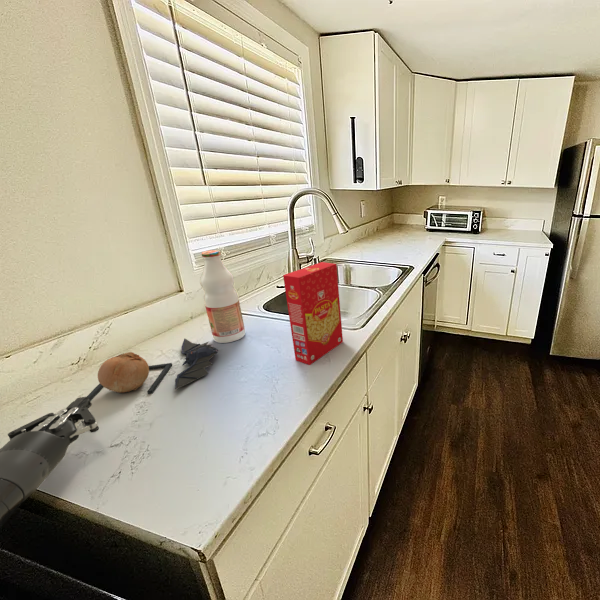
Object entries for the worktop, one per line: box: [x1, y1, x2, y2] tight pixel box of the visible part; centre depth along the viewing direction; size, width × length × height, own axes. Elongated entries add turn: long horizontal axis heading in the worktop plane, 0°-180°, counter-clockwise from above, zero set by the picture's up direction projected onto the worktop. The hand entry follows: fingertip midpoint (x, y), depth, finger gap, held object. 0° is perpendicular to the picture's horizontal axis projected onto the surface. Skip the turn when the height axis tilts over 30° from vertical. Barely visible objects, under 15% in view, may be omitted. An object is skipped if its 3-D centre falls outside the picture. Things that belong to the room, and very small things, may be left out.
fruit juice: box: [199, 249, 246, 344], centre depth 100 cm, size 9×9×28 cm
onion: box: [97, 351, 150, 394], centre depth 79 cm, size 10×9×10 cm
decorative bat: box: [174, 338, 219, 390], centre depth 91 cm, size 30×4×10 cm
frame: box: [86, 362, 173, 402], centre depth 82 cm, size 14×13×1 cm
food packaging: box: [282, 261, 344, 366], centre depth 92 cm, size 15×5×25 cm, turn 152°
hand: (84, 400), depth 66 cm, fingers closed
